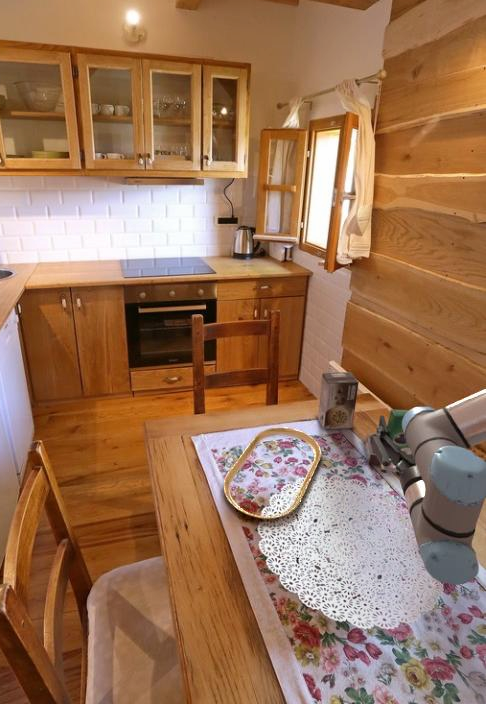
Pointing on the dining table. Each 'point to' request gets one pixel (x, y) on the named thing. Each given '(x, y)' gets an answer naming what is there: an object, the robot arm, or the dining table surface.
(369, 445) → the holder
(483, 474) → the robot arm
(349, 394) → the coffee box
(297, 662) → the dining table surface
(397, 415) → the coffee box
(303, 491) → the oval frame
